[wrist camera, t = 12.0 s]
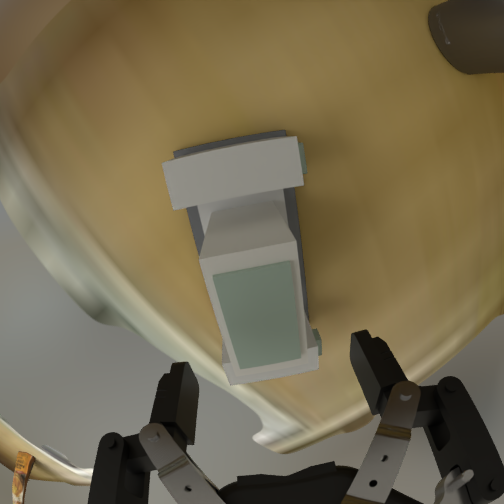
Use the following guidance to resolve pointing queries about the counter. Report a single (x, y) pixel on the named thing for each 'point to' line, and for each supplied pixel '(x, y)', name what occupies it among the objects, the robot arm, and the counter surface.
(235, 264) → the block
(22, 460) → the pancake mix bag
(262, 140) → the rail
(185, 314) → the counter surface
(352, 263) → the counter surface
